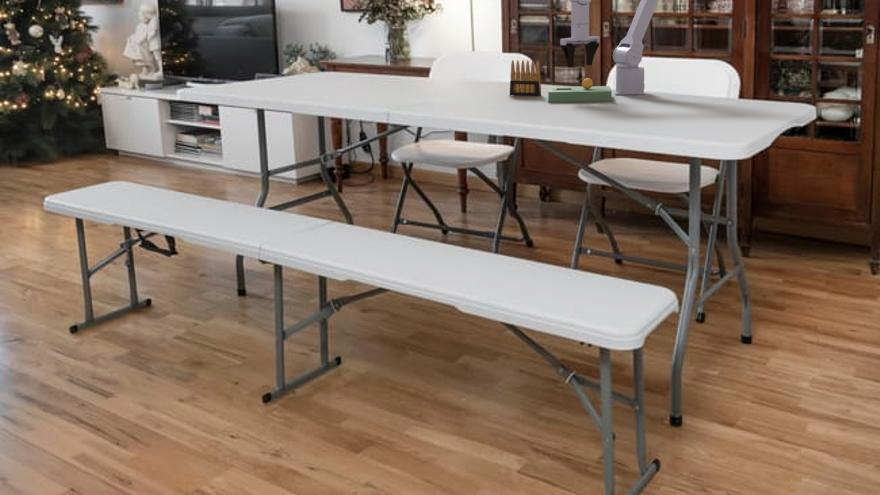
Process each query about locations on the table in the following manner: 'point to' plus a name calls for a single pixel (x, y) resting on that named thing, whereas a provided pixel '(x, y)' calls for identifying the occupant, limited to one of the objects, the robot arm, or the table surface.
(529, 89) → the ammunition clip
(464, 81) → the table surface
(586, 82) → the ball
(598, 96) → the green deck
